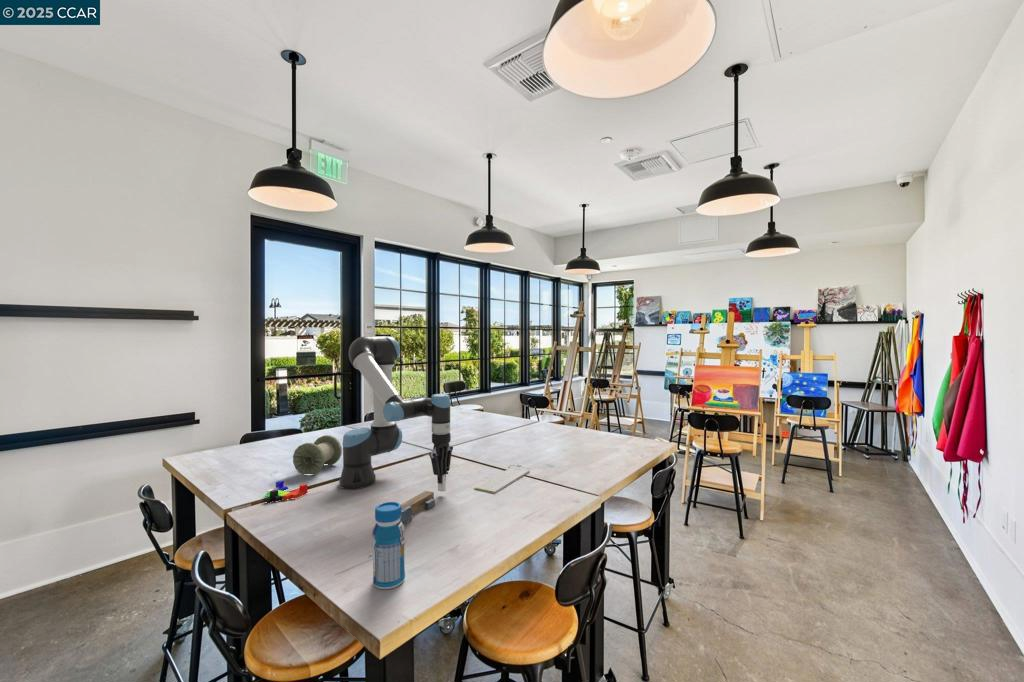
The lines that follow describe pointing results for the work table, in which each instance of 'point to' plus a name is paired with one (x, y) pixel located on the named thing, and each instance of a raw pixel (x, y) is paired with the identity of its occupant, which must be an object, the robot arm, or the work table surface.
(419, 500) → the brown wooden bar
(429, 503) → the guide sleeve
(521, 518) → the work table surface
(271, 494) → the building blocks
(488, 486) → the baseboard
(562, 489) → the work table surface
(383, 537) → the beverage bottle
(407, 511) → the end cap
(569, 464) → the work table surface
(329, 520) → the work table surface
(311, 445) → the spool
